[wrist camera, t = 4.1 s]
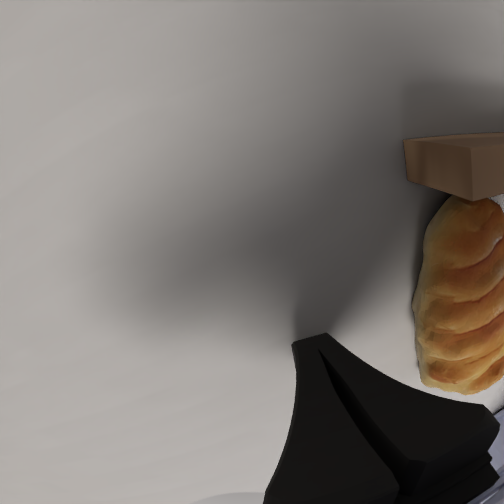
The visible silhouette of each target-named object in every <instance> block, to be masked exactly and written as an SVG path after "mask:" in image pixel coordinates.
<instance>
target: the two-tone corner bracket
mask: <svg viewBox="0 0 504 504" xmlns="http://www.w3.org/2000/svg"><path fill="white" fill-rule="evenodd" d="M403 143H404V151H405V160H406V169H407V180H408V181H411V182H414V183H418V184H421V185H424V186H428V187H431V188H434V189H437V190H440V191H443V192H447V193H450V194H453V195H456V196H459V197H461V198H464V199H467V200H470V201H476V200H480V199H484V198H488V197H492V196H496V195H500V194H504V132H496V133H476V134H460V135H447V136H436V137H425V138H416V139H406V140H403Z"/></svg>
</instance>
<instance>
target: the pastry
mask: <svg viewBox="0 0 504 504" xmlns="http://www.w3.org/2000/svg"><path fill="white" fill-rule="evenodd" d="M423 253H424V255H423V263H422V267H421V270H420V274H419V280H418V285H417V288H416V290H415V293H414V296H413V301H412V309H413V312H414V315H415V344H416V351H417V358H418V360H419V371H420V378H421V382H422V383H423V384H424V385H425V386H427V387H431V388H439V389H441V390H443V391H447V392H458V393H461V394H463V395H471V394H475V393H478V392H480V391H482V390H485V389H487V388H489V387H490V386H491V385H493V384H494V383H496V382H497V381H499V380H500V379H501V378H502V377H503V375H504V213H503V211H502V209H501V207H500V205H499V204H497V203H496V202H494V201H493V200H491V199H489V198H484V199H480V200H476V201H470V200H467V199H464V198H461V197H459V196H456V195H452V196H451V197H450V198H448V199H447V200H446V202H445V203H444V204H443V205H442V206H441V208H440V209H439V210H438V211H437V213H436V214H435V215H434V217H433V218H432V220H431V221H430V223H429V224H428V226H427V229H426V232H425V236H424V239H423Z"/></svg>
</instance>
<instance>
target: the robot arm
mask: <svg viewBox="0 0 504 504" xmlns="http://www.w3.org/2000/svg"><path fill="white" fill-rule="evenodd" d="M292 351H293V356H294V362H295V368H296V393H295V403H294V409H293V415H292V420H291V425H290V429H289V432H288V436H287V440H286V443H285V446H284V449H283V452H282V455H281V457H280V460H279V463H278V465H277V468H276V470H275V472H274V474H273V476H272V479H271V481H270V483H269V485H268V487H267V489H266V491H265V497H264V502H263V504H504V409H503V410H501V411H500V412H498V413H497V414H496V415H494V416H493V414H492V413H491V412H490V411H489V410H488V409H487V408H486V407H485V406H484V405H482V404H475V403H468V402H461V401H455V400H451V399H447V398H443V397H439V396H435V395H432V394H429V393H426V392H423V391H420V390H417V389H415V388H412V387H410V386H407V385H405V384H403V383H401V382H399V381H397V380H394V379H393V378H391V377H389V376H387V375H385V374H383V373H382V372H380V371H378V370H377V369H375V368H373V367H372V366H370V365H369V364H367V363H366V362H364V361H363V360H361V359H360V358H358V357H357V356H356V355H354V354H353V353H351V352H350V351H349V350H348V349H346V348H345V347H344V346H342V345H341V344H340V343H339V342H337V341H336V340H335V339H334V338H333V337H332V336H330V335H329V334H328V333H323V334H319V335H316V336H313V337H309V338H305V339H302V340H298V341H295V342H293V344H292Z"/></svg>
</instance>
